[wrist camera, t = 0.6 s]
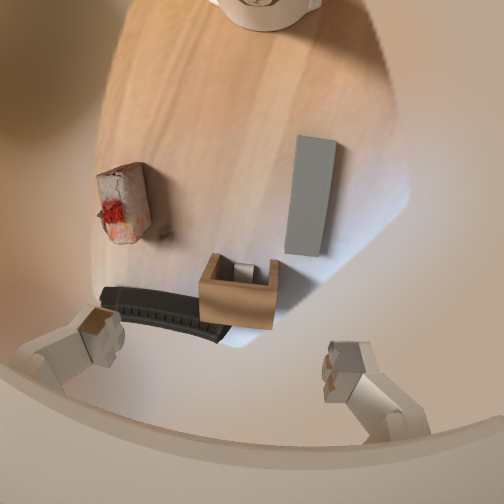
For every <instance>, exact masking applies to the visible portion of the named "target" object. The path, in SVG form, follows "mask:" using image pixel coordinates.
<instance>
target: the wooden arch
mask: <svg viewBox="0 0 504 504" xmlns="http://www.w3.org/2000/svg"><path fill="white" fill-rule="evenodd" d="M253 272H254V265H251V264H241V263H235V265H234V280H233V282H230V281H222V280H220V254H214V253H212V255H211V257H210V259H209V262H208V264H207V266H206V268H205V270H204V272H203V274H202V276H201V279H200V281H199V283H198V284H199V309H200V321H202V322H209V323H216V324H223V325H231V326H239V327H248V328H257V329H266V330H272V327H273V321H274V314H275V307H276V300H277V294H278V260H271V259H270V268H269V277H268V285H257V284H253Z"/></svg>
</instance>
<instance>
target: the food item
mask: <svg viewBox="0 0 504 504" xmlns="http://www.w3.org/2000/svg"><path fill="white" fill-rule="evenodd" d="M96 178H97V184H98V191H99V196H100V201H101V206H102V209H103V211H102V210H101V211H100V213H98V214H97V216H98V217H100V218H101V223H102V226H103V229H104V230H105V232H106V233H107V235H108V236H109V239H110V241H112V242H113V243H114V244H118V245H124V244H134V243H136V242H137V241H138V240H139V239H140V238H141V236H142V235H143V234H144V232H145V231H147V229H148V228H149V227H150V226H151V225H152V221H151V214H150V209H149V204H148V199H147V193H146V187H145V181H144V176H143V171H142V165H141V162H134V163H131V164H127V165H123V166H120V167H117V168H114V169H112V170H110V171H107V172H104V173H101V174H99V175H97V176H96ZM103 218H104V219H103ZM103 221H104V222H103Z"/></svg>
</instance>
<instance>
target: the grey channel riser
mask: <svg viewBox="0 0 504 504" xmlns="http://www.w3.org/2000/svg"><path fill="white" fill-rule="evenodd" d="M336 143H337V141H335V140H326V139H320V138H313V137H305V136H301V135H297V141H296V151H295V161H294V170H293V179H292V188H291V197H290V205H289V214H288V222H287V230H286V238H285V245H284V251H285V254H294V255H304V256H313V257H319V252H320V247H321V241H322V236H323V230H324V224H325V219H326V213H327V207H328V200H329V194H330V187H331V180H332V173H333V166H334V159H335V151H336Z"/></svg>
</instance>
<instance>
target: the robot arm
mask: <svg viewBox="0 0 504 504" xmlns="http://www.w3.org/2000/svg"><path fill="white" fill-rule="evenodd" d="M209 2H210V3H211V4H213V5H215V6H217V7H219V8H221V9H222V10H223V11H224V13H225V14H226V15H227V17H228V18H229V19H230V20H232V21H233V22H234V23H236V24H237V25H239V26H241V27H243V28H246V29H250V30H254V31H275V30H280V29H283V28H286V27H288V26H290V25H292V24H294V23H295V22H297V21H298V20H299V19H300V18H301V17H302V16H303V15H304V14H306V13H307V12H310V11H313V10H315V9H318V8H319V7H321V4H322V0H209ZM121 320H122V319H121V316H120V313H119V312H117V311H113V310H109V309H105V308H102V307H97V306H93V305H90V304H88V305H85V306H84V307H83V308H82V310H81V311H80V312H79V313H78V314H77V316H76V317H75V318H74V319H73V320H72V321H71V323H70V324H69V325H68V326H67V327H65V326H64V327H62V328H59V329H57V330H55V331H52V332H50V333H48V334H46V335H43V336H41V337H39V338H36V339H34V340H32V341H30V342H27V343H25V344H23V345H22V346H21V347H20V348H19V349H18V351H17V352H16V353H15V354H14V355H13V357H12V358H11V359H10V360H9V362H8V363H6V362H5V361H3V360H2V359H0V504H504V416H501V415H499V416H494V417H491V418H489V419H486V420H483V421H480V422H476V423H473V424H470V425H467V426H463V427H460V428H456V429H452V430H448V431H445V432H440V433H436V434H431V431H430V428H429V424H428V422H427V418H426V415H425V412H424V409H423V408H422V407H421V406H420V405H419V404H418V403H417V402H415V401H414V400H413V399H412V398H411V397H410V396H409V395H408V394H407V393H405V392H404V391H403V390H402V389H401V388H400V387H399V386H398V385H396V384H395V383H394V382H393V381H392V380H391V379H390V378H388V377H387V376H386V375H385V374H384V373H380V371H379V368H378V365H377V362H376V359H375V355H374V352H373V349H372V346H371V344H370V342H358V341H357V342H353V341H352V342H351V341H331V342H330V344H329V347H328V352H329V354H328V355H326V356H325V358H324V361H323V366H322V380H323V381H324V382H325V383H326V384H325V386H324V388H323V390H324V399H325V403H346V405H347V406H348V408H349V409H350V410H351V411H352V413H353V414H354V415H355V416H356V418H357V419H358V420H359V422H360V423H361V424H362V426H363V427H364V428H365V429H366V431H367V432H368V433H369V435H370V436H369V437H368V439H367V440H366V441H365V442H364V443H363V444H362V445H351V446H330V447H298V446H275V445H261V444H251V443H242V442H234V441H227V440H220V439H214V438H208V437H203V436H197V435H192V434H187V433H182V432H178V431H173V430H169V429H165V428H161V427H158V426H154V425H150V424H146V423H143V422H139V421H136V420H133V419H130V418H127V417H123V416H121V415H118V414H114V413H112V412H109V411H106V410H103V409H101V408H98V407H95V406H93V405H90V404H88V403H85V402H83V401H80V400H78V399H76V398H73V397H71V396H69V395H67V394H66V393H65V391H64V390H63V388H62V387H61V386H62V385H63V384H65V383H66V382H68V381H69V380H71V379H72V378H74V377H75V376H77V375H78V374H80V373H81V372H82V371H84V370H86V369H87V368H88V367H90V366H91V365H92V364H95V365H99V366H102V367H105V368H110V367H111V365H112V363H113V362H114V360H115V359H116V354H115V352H117V351H119V350H121V348H122V346H123V344H124V340H125V331H124V328H123V327H122V325H121V324H120V321H121Z"/></svg>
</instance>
